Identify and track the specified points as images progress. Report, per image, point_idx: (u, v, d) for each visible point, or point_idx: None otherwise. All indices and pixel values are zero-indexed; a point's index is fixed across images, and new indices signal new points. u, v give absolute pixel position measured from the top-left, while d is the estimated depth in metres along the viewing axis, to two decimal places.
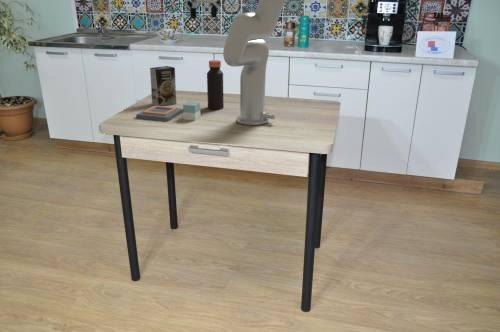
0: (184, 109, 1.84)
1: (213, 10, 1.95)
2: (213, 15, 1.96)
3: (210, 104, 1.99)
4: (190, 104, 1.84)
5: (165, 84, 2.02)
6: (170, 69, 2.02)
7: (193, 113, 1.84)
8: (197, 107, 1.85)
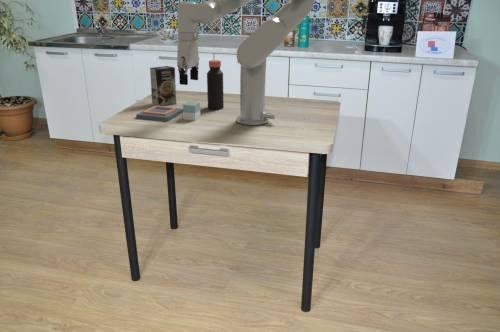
0: (184, 109, 1.84)
1: None
2: None
3: (210, 104, 1.99)
4: (190, 104, 1.84)
5: (165, 84, 2.02)
6: (170, 69, 2.02)
7: (193, 113, 1.84)
8: (197, 107, 1.85)
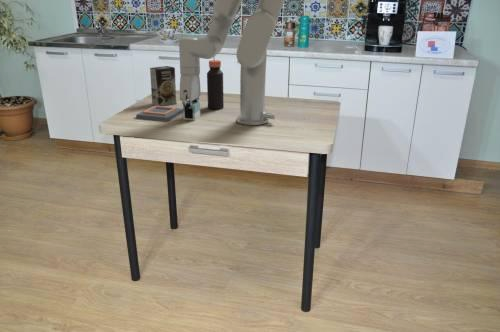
0: None
1: None
2: None
3: (210, 104, 1.99)
4: None
5: (165, 84, 2.02)
6: (170, 69, 2.02)
7: (193, 113, 1.84)
8: (197, 107, 1.85)
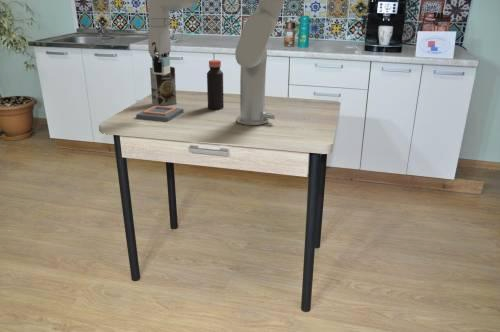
0: (153, 63, 1.81)
1: None
2: None
3: (210, 104, 1.99)
4: None
5: (165, 84, 2.02)
6: (170, 69, 2.02)
7: (162, 67, 1.81)
8: (166, 61, 1.82)
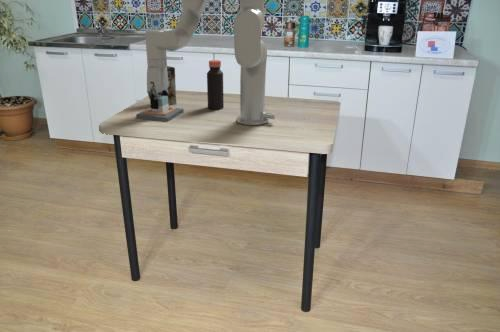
0: None
1: None
2: None
3: (210, 104, 1.99)
4: (158, 97, 1.88)
5: None
6: (170, 69, 2.02)
7: (161, 106, 1.87)
8: (164, 100, 1.88)
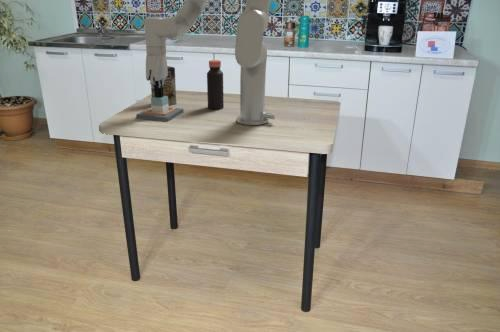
0: (152, 102, 1.88)
1: None
2: None
3: (210, 104, 1.99)
4: (158, 97, 1.88)
5: (165, 84, 2.02)
6: (170, 69, 2.02)
7: (161, 106, 1.87)
8: (164, 100, 1.88)
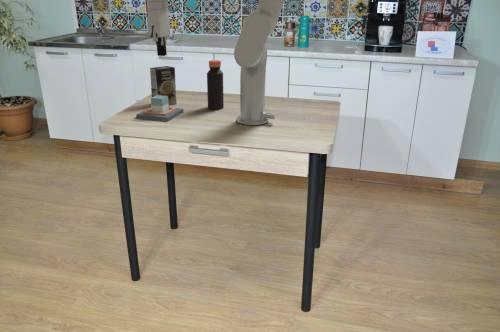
0: (152, 102, 1.88)
1: None
2: None
3: (210, 104, 1.99)
4: (158, 97, 1.88)
5: (165, 84, 2.02)
6: (170, 69, 2.02)
7: (161, 106, 1.87)
8: (164, 100, 1.88)
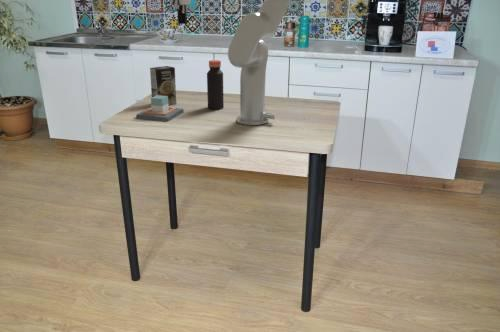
0: (152, 102, 1.88)
1: None
2: None
3: (210, 104, 1.99)
4: (158, 97, 1.88)
5: (165, 84, 2.02)
6: (170, 69, 2.02)
7: (161, 106, 1.87)
8: (164, 100, 1.88)
